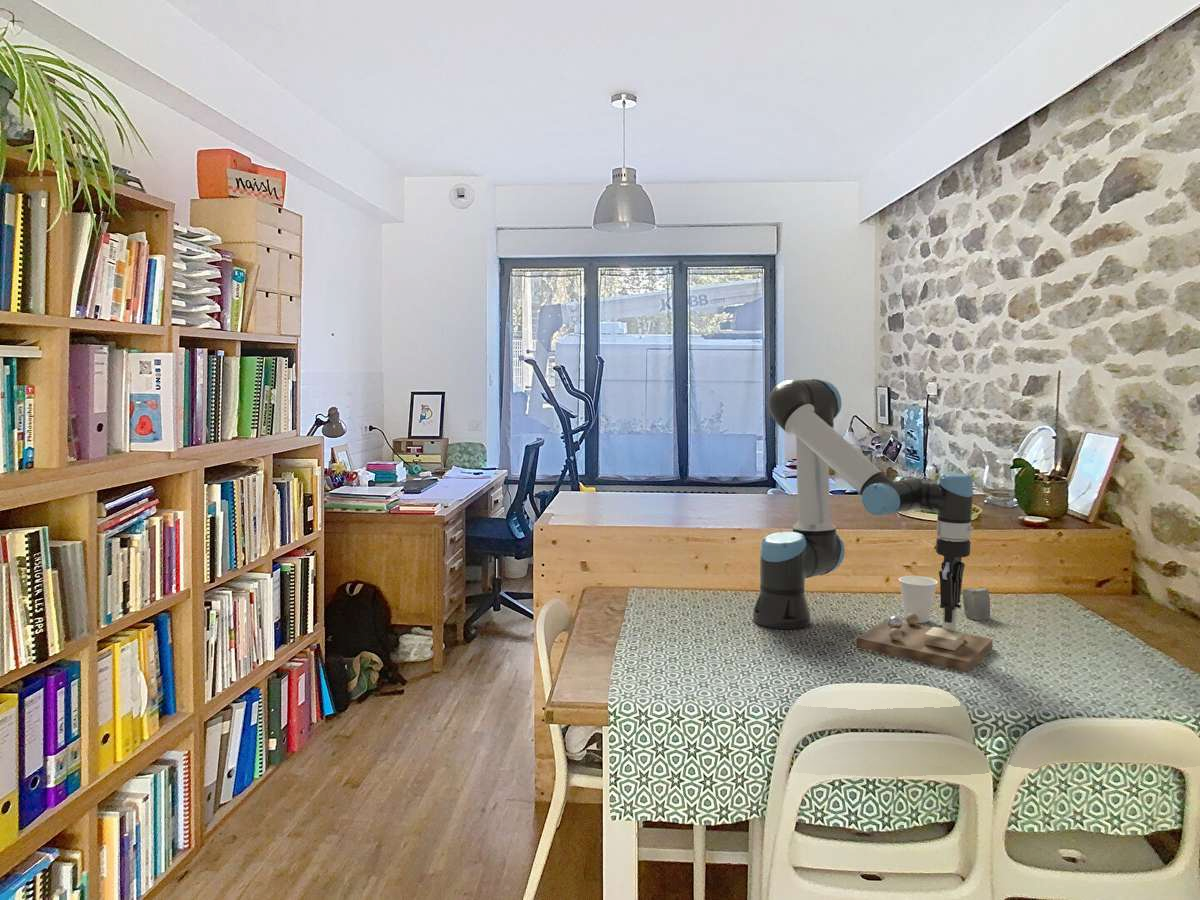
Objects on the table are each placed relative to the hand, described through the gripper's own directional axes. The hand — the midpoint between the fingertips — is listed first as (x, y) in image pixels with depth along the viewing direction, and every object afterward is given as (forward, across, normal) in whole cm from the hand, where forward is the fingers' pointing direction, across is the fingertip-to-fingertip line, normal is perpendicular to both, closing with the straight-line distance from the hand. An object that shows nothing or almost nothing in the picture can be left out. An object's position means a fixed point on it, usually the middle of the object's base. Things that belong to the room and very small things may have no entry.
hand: (949, 634), depth 202 cm
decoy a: (0, -8, +10) cm, 13 cm away
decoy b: (0, +7, +11) cm, 13 cm away
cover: (+1, -4, 0) cm, 4 cm away
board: (+4, -2, +5) cm, 7 cm away
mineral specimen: (+4, +33, +2) cm, 33 cm away
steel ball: (0, 0, +13) cm, 13 cm away
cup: (+4, +20, +14) cm, 24 cm away
